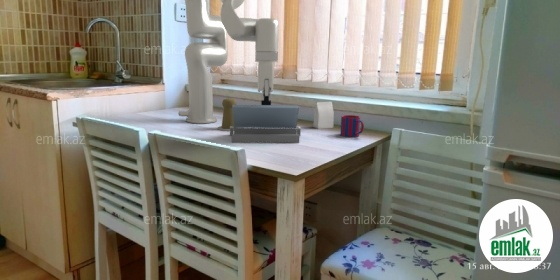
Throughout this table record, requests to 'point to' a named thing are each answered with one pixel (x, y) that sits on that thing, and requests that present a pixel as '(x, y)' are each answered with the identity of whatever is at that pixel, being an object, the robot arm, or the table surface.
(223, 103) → the cork
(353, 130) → the mug
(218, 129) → the pad
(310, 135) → the table surface
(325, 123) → the white printed box
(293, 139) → the bar
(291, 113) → the panel
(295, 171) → the table surface
